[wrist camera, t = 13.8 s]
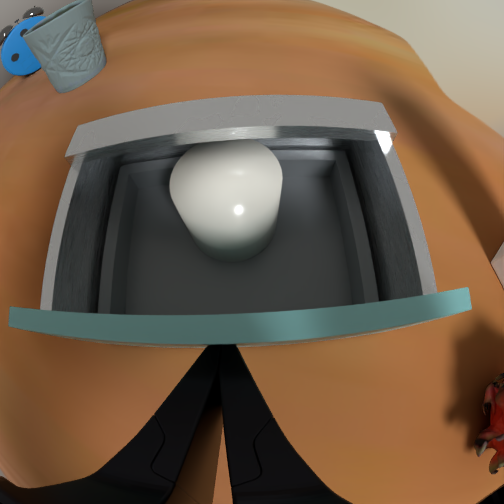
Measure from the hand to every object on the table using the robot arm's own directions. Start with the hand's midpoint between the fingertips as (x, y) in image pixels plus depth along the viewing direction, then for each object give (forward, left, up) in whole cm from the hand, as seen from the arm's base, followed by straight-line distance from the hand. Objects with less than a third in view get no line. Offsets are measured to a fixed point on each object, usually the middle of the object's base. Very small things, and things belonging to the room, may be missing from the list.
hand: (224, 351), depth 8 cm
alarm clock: (+50, +41, -7) cm, 65 cm away
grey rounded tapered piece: (+7, 0, -6) cm, 9 cm away
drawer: (+7, 0, -7) cm, 10 cm away
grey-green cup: (+35, +22, -7) cm, 42 cm away
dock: (+7, 0, -7) cm, 10 cm away
